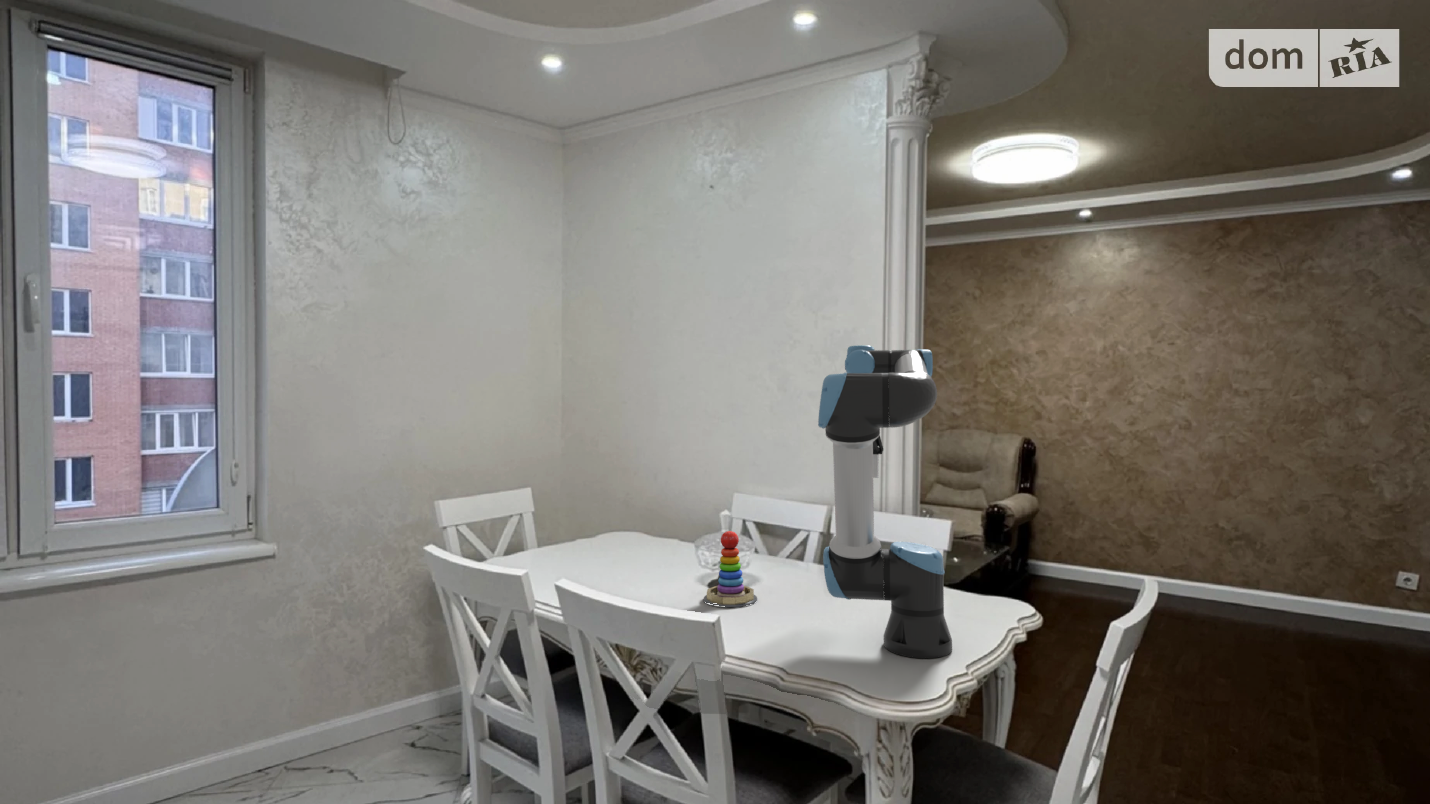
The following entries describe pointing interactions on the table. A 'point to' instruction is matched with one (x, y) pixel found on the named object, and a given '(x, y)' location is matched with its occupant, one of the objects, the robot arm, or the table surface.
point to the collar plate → (730, 598)
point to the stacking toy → (730, 567)
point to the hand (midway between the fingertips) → (860, 479)
